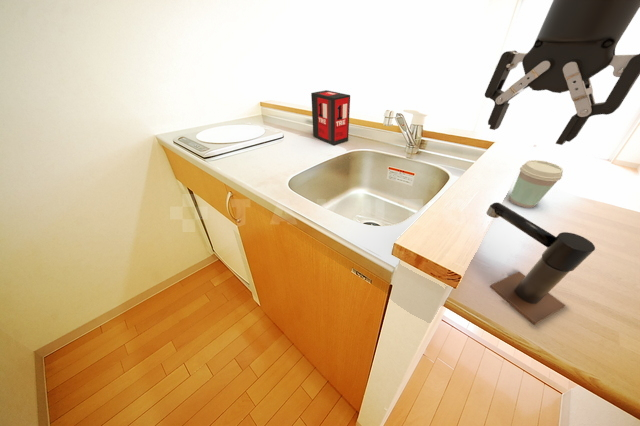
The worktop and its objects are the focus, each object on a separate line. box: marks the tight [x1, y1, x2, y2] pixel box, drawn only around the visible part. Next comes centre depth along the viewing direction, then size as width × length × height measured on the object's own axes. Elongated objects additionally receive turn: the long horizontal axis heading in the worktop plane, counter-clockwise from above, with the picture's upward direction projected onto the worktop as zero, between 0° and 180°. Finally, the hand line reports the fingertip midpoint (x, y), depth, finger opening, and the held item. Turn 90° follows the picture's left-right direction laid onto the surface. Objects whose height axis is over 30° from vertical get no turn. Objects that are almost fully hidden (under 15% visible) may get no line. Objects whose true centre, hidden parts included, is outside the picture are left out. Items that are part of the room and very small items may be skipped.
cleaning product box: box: [310, 89, 351, 146], centre depth 107 cm, size 16×9×20 cm, turn 37°
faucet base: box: [489, 256, 571, 326], centre depth 39 cm, size 8×8×10 cm
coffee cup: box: [508, 159, 564, 209], centre depth 62 cm, size 9×8×12 cm
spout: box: [486, 201, 596, 272], centre depth 39 cm, size 15×4×4 cm, turn 17°
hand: (524, 135), depth 35 cm, fingers open, 8 cm apart
